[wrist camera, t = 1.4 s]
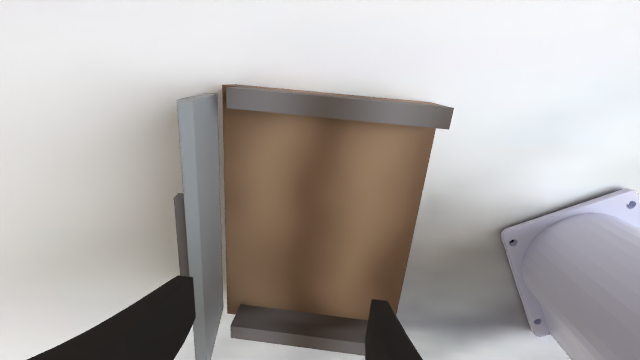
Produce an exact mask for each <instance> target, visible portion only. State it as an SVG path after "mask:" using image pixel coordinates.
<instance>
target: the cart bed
mask: <svg viewBox="0 0 640 360" xmlns="http://www.w3.org/2000/svg"><path fill="white" fill-rule="evenodd" d="M222 92H223V137H224V181H225V225H226V270H227V313H229V314H236V315H235V318H234V320H233V322H232V324H231V338H237V339H245V340H252V341H260V342H267V343H274V344H282V345H289V346H297V347H304V348H312V349H319V350H327V351H334V352H342V353H349V354H356V355H364V356H365V336H366V330H367V324H368V318H369V312H370V306H371V301H372V299H376V300H384V301H388V302H389V303H390V305H391V307H392V309H393V311H394V313H395V315H396V313H397V308H398V304H399V299H400V294H401V290H402V285H403V280H404V276H405V271H406V266H407V261H408V257H409V252H410V247H411V243H412V238H413V233H414V228H415V224H416V219H417V214H418V210H419V205H420V200H421V196H422V191H423V186H424V181H425V177H426V172H427V167H428V163H429V158H430V153H431V148H432V144H433V139H434V134H435V130H436V128H439V129H449V127H450V123H451V118H452V114H453V110H454V108H451V107H447V106H443V105H439V104H435V103H431V102H420V101H409V100H398V99H387V98H376V97H366V96H355V95H344V94H333V93H322V92H311V91H300V90H289V89H278V88H268V87H257V86H246V85H222Z"/></svg>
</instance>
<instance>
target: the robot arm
mask: <svg viewBox="0 0 640 360" xmlns="http://www.w3.org/2000/svg"><path fill="white" fill-rule="evenodd" d="M628 202H630V203H629V205H627V203H628ZM501 239H502V242H503V245H504V248H505V251H506V254H507V257H508V260H509V264H510V267H511V270H512V273H513V276H514V279H515V282H516V285H517V288H518V291H519V294H520V297H521V301H522V304H523V307H524V310H525V313H526V316H527V319H528V322H529V325H530V328H531V331H532V332H533V333H534V335H536V336H539V337H541V336H546V335H550V334H551V335H552V336H553V338H554V339H555V340H556V341H557V343H558V344H559V345H560V346H561V347H562V349H563V350H564V351H565V352H566V354H567V355H568V356H569V357H570V359H571V360H640V201H639V195H638V193H637V192H636V191H635V190H632V189H628V188H626V189H622V190H619V191H616V192H613V193H610V194H607V195H604V196H601V197H598V198H595V199H592V200H589V201H586V202H583V203H580V204H577V205H574V206H571V207H568V208H565V209H562V210H559V211H556V212H553V213H550V214H547V215H544V216H542V217H539V218H536V219H533V220H530V221H527V222H524V223H521V224H518V225H515V226H512V227H509V228H506V229H504V230H503V231H502V232H501ZM511 240H514V242H513V243H509V242H510V241H511ZM195 318H196V312H195V297H194V283H193V277H188V276H179V275H178V276H177V277H175V278H173V279H172V280H170V281H168V282H167V283H165V284H164V285H162V286H161V287H159V288H158V289H156V290H154V291H153V292H151V293H150V294H148V295H147V296H145V297H143V298H142V299H140V300H139V301H137V302H136V303H134V304H132V305H131V306H129V307H128V308H126V309H124V310H123V311H121V312H119V313H117V314H116V315H114V316H112V317H111V318H109V319H107V320H106V321H104V322H102V323H100V324H99V325H97V326H95V327H93V328H91V329H90V330H88V331H86V332H84V333H82V334H80V335H78V336H76V337H74V338H72V339H70V340H68V341H66V342H64V343H62V344H60V345H58V346H56V347H54V348H52V349H50V350H47V351H45V352H43V353H41V354H38V355H36V356H34V357H32V358H30V359H27V360H174V358H175V356H176V355H177V353H178V352H179V350H180V348H181V347H182V345H183V343H184V342H185V339H186V337H187V335H188V333H189V331H190V329H191V327H192V325H193V323H194V321H195ZM536 319H537V320H536ZM365 360H423V359H422V358H421V356H420V355H419V353H418V352H417V350H416V349H415V347H414V345H413V344H412V342H411V341H410V339H409V337H408V336H407V334H406V332H405V331H404V329H403V327H402V326H401V324H400V322H399V320H398V319H397V317H396V315H395V313H394V311H393V309H392V307H391V305H390V303H389V302H388V301H384V300H376V299H372V301H371V306H370V312H369V318H368V324H367V330H366V336H365Z"/></svg>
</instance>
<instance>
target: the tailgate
mask: <svg viewBox="0 0 640 360" xmlns="http://www.w3.org/2000/svg"><path fill="white" fill-rule="evenodd" d="M177 107H178V121H179V135H180V149H181V163H182V177H183V191H184V194H183V193H178V194H177V195H176V196H175V198H174V205H175V217H176V229H177V241H178V253H179V265H180V276H188V277H193V283H194V297H195V312H196V318H195V321H194V323H193V331H194V345H195V359H196V360H211V356H212V352H213V348H214V344H215V340H216V335H217V331H218V327H219V323H220V319H221V315H222V311H223V279H222V244H221V208H220V173H219V137H218V102H217V94H214V93H204V94H200V95H195V96H191V97H187V98H183V99H179V100H177Z"/></svg>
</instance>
